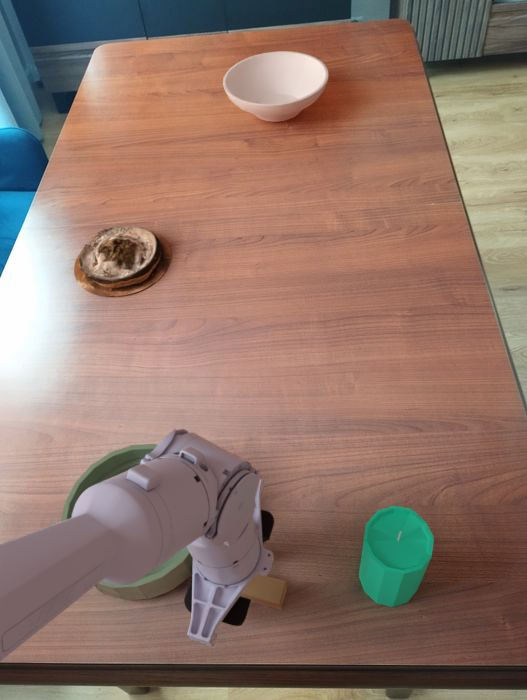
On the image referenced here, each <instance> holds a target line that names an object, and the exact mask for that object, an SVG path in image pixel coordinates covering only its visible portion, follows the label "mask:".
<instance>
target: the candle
mask: <svg viewBox="0 0 527 700" xmlns="http://www.w3.org/2000/svg"><path fill="white" fill-rule="evenodd" d="M362 541H363V543H362V550H361V555H360V563H359V569H358V579H359V582H360V585H361V587H362V591H363V592H364V593H365V594H366V595H367V596H368V597H369V598H370V599H371V600H372V601H374V602H375V603H376V604H378V605H381V606H382V605H383V606H386V607H391V608H394V607H398V606H401V605H404V604H407V603H409V602H410V600H411V599H412V598H413V597H414V595H415V594H416V593H417V592H418V590H419V588H420V585H421V583H422V581H423V578H424V575H425V574H426V571H427V569H428V567H429V564H430V562H431V560H432V558H433V550H434V541H435V537H434V534H433V532H432V531H431V529H430V527H429V525H428V523H427V521H426V520H425V519H424V518H423V517H421V516H420V515H419V514H418V513H417V512H416V511H415V510H413V508H409V507H403V506H400V505H399V506H398V505H392V506H388V507H386V508H382V509H377V511H375V512H374V514H373V515H372V516H371V517H370V519H369V520H368V521H367V522H366V524H365V529H364V536H363V540H362Z"/></svg>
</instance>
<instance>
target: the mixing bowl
mask: <svg viewBox="0 0 527 700" xmlns="http://www.w3.org/2000/svg"><path fill="white" fill-rule="evenodd" d="M157 445H158V444H156V443H145V444H132V445H128V446H125V447H121V448H120V449H117V450H113V451H111V452H109V453H107V454H106V455H104V456H103V457H101V458H100V459H98V460H96V461H95V462H93V463H92V464H90V466H89V467H87V469H86V470H85V471H84V472H83V473H82V474H81V475H80V477H79V478H78V479H77V480H76V481H75V482H74V484H73V486H72V488H71V490H70V492H69V493H68V496H67V497H66V499H65V502H64V504H63V508H62V514H61V517H60V518H61V519H60V522H62V521H64V520H67V519H70V518H71V517H72V512H73V509H74V506H75V504H76V502H77V500H78V498H79V497H80V495H81V494H82V493H83V492H84V491H85V490H86V489H88V488H89V487H91V486H93V485H95V484H98V483H100V482H102V481H104V480H107V479H109V478H111V477H114V476H116V475H119V474H121V473H123V472H126V471H128V470H129V469H130V468H133V467H135V466H137V465H140V462H141V460H142V459H143V458H145V456H146V454H149V453H150V452H152V451H153V450H154V449H155V448H156V447H157ZM192 574H193V558H192V556H191V554H190V552H189V550H188V548H187V547H185V548H184V549H182V550H181V551H180V552H178V553H177V554H175V555H174V556H172V557H171V558H170V559H168V560H167V561H165V562H164V563H162V564H161V565H160V566H158V567H157V568H155V569H154V570H153V571H151V572H150V573H148V574H147V575H145V576H144V577H143V578H141V579H140V580H138V581H136V582H135V583H132V584H129V585H114V584H110V583H107V582H105V581H103V580H102V581H100V582H99V583H98V584H97V585H95V586H94V587H95V588H96V589H98V591H100V592H102V593H103V594H105V595H107V596H110V597H114V598H117V599H120V600H124V601H135V600H149V599H152V598H155V597H158V596H161V595H163V594H166V593H168V592H171V591H173V590H175V589H176V588H177V587H179V586H180V585H181V584H182V583H184V582H185V581H186V580H188V578H190V577H192Z"/></svg>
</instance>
